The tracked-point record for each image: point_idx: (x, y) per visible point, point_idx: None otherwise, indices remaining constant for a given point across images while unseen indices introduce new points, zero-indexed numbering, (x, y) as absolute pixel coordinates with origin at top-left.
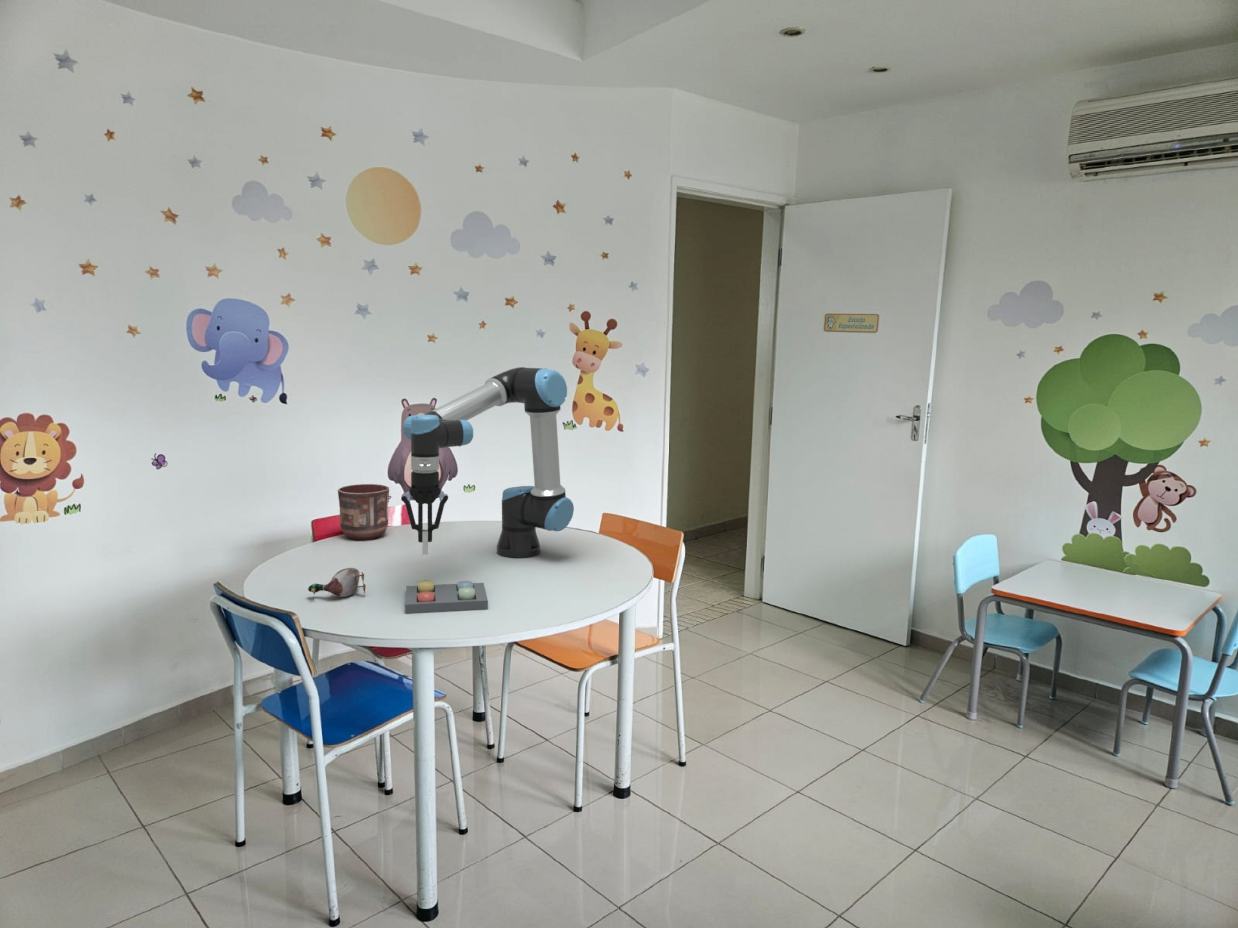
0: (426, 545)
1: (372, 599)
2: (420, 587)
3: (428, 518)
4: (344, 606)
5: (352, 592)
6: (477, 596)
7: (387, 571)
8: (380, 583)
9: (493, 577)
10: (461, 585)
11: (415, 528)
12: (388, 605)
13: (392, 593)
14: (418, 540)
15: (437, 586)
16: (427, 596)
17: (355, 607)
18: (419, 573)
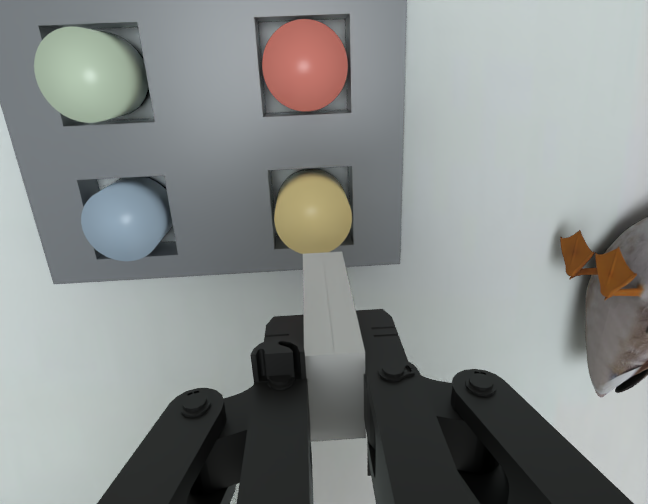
0: (315, 283)
1: (526, 199)
2: (337, 186)
3: (296, 499)
4: (643, 122)
5: (607, 249)
6: None
7: None
8: None
9: (60, 416)
10: (135, 193)
11: (454, 376)
12: (467, 115)
13: (446, 264)
14: (389, 317)
15: (262, 247)
16: (295, 21)
17: (602, 104)
18: (347, 464)
